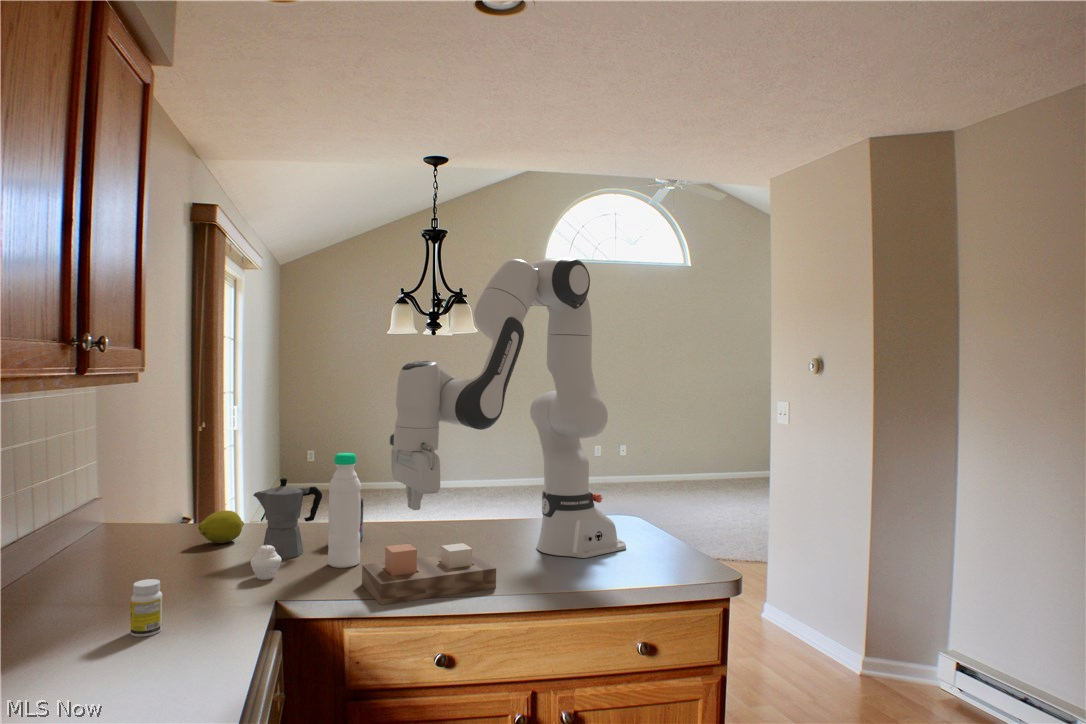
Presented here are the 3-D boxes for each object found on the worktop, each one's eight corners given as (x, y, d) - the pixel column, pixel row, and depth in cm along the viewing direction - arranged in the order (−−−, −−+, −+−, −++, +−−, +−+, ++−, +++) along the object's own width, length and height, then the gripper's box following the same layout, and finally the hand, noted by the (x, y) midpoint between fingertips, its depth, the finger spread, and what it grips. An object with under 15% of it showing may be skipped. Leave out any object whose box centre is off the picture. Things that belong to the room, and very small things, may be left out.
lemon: (240, 536, 187) (240, 505, 187) (248, 543, 180) (248, 511, 180) (194, 542, 180) (194, 510, 180) (201, 549, 174) (201, 516, 174)
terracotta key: (408, 567, 150) (409, 543, 150) (416, 574, 146) (416, 549, 145) (384, 570, 148) (385, 546, 148) (392, 577, 143) (392, 552, 143)
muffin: (285, 578, 153) (286, 545, 153) (256, 584, 149) (256, 550, 149) (274, 571, 158) (275, 539, 158) (245, 576, 154) (246, 543, 154)
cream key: (462, 566, 156) (463, 543, 156) (471, 572, 151) (472, 548, 151) (440, 569, 153) (441, 545, 153) (449, 575, 149) (449, 551, 149)
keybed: (469, 569, 161) (470, 551, 161) (495, 587, 149) (496, 568, 149) (361, 584, 150) (362, 564, 150) (380, 605, 138) (380, 584, 138)
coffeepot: (252, 562, 164) (253, 482, 164) (252, 551, 173) (253, 476, 173) (323, 556, 170) (324, 479, 170) (319, 546, 179) (320, 473, 179)
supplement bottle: (138, 627, 125) (139, 578, 125) (167, 626, 125) (167, 577, 125) (124, 637, 120) (125, 587, 120) (154, 637, 120) (155, 586, 120)
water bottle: (351, 569, 160) (352, 456, 160) (321, 567, 161) (323, 454, 161) (365, 560, 167) (366, 452, 167) (336, 558, 168) (338, 451, 168)
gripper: (449, 446, 140) (447, 518, 140) (415, 435, 158) (412, 499, 158) (418, 446, 137) (415, 520, 137) (387, 435, 155) (384, 500, 155)
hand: (413, 508), depth 147 cm, fingers closed
